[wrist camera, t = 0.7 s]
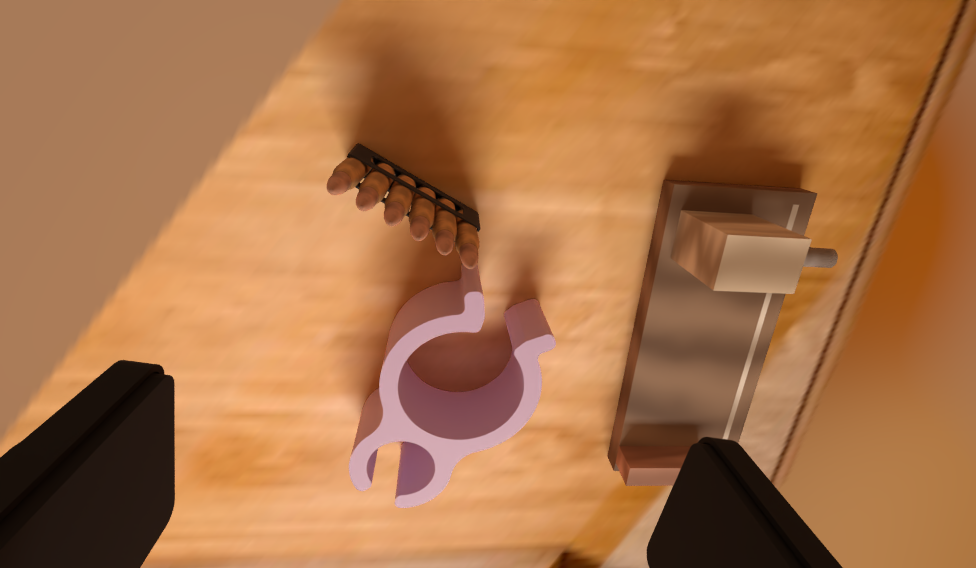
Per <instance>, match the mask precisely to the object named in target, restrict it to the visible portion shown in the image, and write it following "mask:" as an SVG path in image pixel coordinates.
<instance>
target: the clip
mask: <svg viewBox="0 0 976 568" xmlns="http://www.w3.org/2000/svg"><path fill="white" fill-rule="evenodd" d="M461 273H462V276H461V278H460V279H459V280H458V281H450V282H444V283H440V284H436V285H433V286H431V287H428V288H426V289H424V290H422V291H420V292H419V293H417V294H416V295H414V296H413V297H412V298H411V299H409V300H408V301H407V302H406V303H405V304H404V305H403V307H402V308H401V309H400V310H399V312H398V313H397V315H396V317H395V319H394V321H393V323H392V325H391V329H390V333H389V337H388V342H387V346H386V351H385V356H384V360H383V365H382V370H381V374H380V381H379V388H378V389H376V390H375V391H374V392H373V393H372V394H371V395H370V396H369V397H368V398H367V400H366V402H365V404H364V406H363V409H362V413H361V417H360V421H359V426H358V430H357V434H356V438H355V442H354V446H353V450H352V454H351V458H350V462H349V474H350V478H351V480H352V483H353V485H354V486H355V488H356V489H357V490H359V491H365V490H367V489H368V488H370V487H371V484H372V479H373V473H374V467H375V462H376V456H377V451H378V448H379V447H381V446H383V445H385V444H388V443H391V442H397V441H405V442H404V443H403V444H402V446H401V454H400V463H399V471H398V480H397V489H396V497H395V505H396V506H397V507H399V508H408V507H414V506H418V505H421V504H424V503H426V502H428V501H430V500H432V499H433V498H435V497H436V496H437V495H439V494H440V493H441V492H442V491H443V490H444V488H445V487H446V485H447V484H448V482H449V480H450V477H451V474H452V471H453V468H454V467H455V465H456V464H457V463H458V462H459V461H460V460H461V459H462V458H464V457H465V456H467V455H469V454H471V453H474V452H478V451H482V450H486V449H489V448H491V447H494V446H496V445H498V444H500V443H502V442H504V441H506V440H507V439H509V438H510V437H512V436H513V435H514V434H516V433H517V432H518V431H519V430H520V429H521V428H522V427H523V426H524V425H525V424H526V423H527V421H528V420H529V419H530V417H531V416H532V414H533V413H534V411H535V409H536V407H537V404H538V401H539V398H540V394H541V387H542V376H541V370H540V365H539V362H538V356H539V355H540V354H541V353H544V352H547V351H550V350H552V349H553V348H554V347H555V345H556V342H555V339H554V336H553V334H552V332H551V330H550V327H549V325H548V323H547V321H546V318H545V316H544V314H543V311H542V309H541V307H540V305H539V302H538V301H537V300H536V299H530V300H527V301H524V302H521V303H518V304H515V305H513V306H512V307H510V308H509V309H508V310H506V311H505V313H504V318H505V321H506V325H507V329H508V333H509V336H510V340H511V344H512V353H511V357H510V359H509V362H508V363H507V365H506V367H505V368H504V370H503V371H502V372H501V373H500V375H499V376H497V377H496V378H495V379H494V380H493V381H491V382H490V383H488V384H486V385H485V386H482V387H480V388H478V389H474V390H471V391H465V392H449V391H444V390H440V389H437V388H434V387H432V386H430V385H428V384H427V383H425V382H424V381H422V380H421V379H420V378H419V377H418V376H417V375H416V374H415V373H414V372H413V371H412V369H411V368H410V366H409V364H408V362H407V359H408V357H409V356H410V355H411V354H412V353H413V352H414V351H415V350H416V349H417V348H418V347H419V346H421V345H422V344H424V343H425V342H427V341H429V340H431V339H433V338H435V337H438V336H440V335H444V334H448V333H454V332H472V333H475V332H478V331H480V329H481V328H482V325H483V321H484V318H485V311H484V297H483V292H482V287H481V282H480V276H479V271H478V266H477V264H476V266H475V267H474V268H473V269H468V268H466V267H465V266H464V265H463V264H462V265H461Z"/></svg>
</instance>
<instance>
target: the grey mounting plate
mask: <svg viewBox="0 0 976 568" xmlns="http://www.w3.org/2000/svg"><path fill="white" fill-rule="evenodd" d="M816 196H817V193H814V192H811V191H807V190H804V189H798V188H783V187H767V186H752V185H736V184H721V183H706V182H690V181H675V180H664V181H663V186H662V191H661V196H660V201H659V206H658V211H657V216H656V221H655V226H654V231H653V236H652V240H651V245H650V250H649V255H648V260H647V265H646V270H645V275H644V280H643V285H642V290H641V295H640V300H639V305H638V309H637V314H636V319H635V324H634V329H633V334H632V339H631V344H630V349H629V354H628V359H627V364H626V369H625V374H624V379H623V383H622V388H621V393H620V398H619V403H618V408H617V413H616V418H615V423H614V428H613V433H612V438H611V443H610V448H609V452H608V459H609V461H610V463H611V465H612V468H613V470H614V471H620V473H621V476H622V478H623V480H624V482H625V484H626V486H658V485H674V483H675V481H676V479H677V476H678V474H679V472H680V469H681V467H682V465H683V462H684V460H685V458H686V455H687V453H688V451H689V449H690V447H691V446H692V445H693V444H695V443H698V441H699V440H700V439H701V438H703V437H712V438H720V439H727V440H733V441H736V442H737V443H738V442H739V439H740V436H741V433H742V430H743V427H744V423H745V420H746V417H747V414H748V411H749V408H750V404H751V401H752V398H753V395H754V392H755V389H756V386H757V382H758V379H759V376H760V373H761V370H762V367H763V363H764V360H765V357H766V354H767V351H768V348H769V344H770V341H771V338H772V335H773V332H774V329H775V326H776V322H777V319H778V316H779V313H780V310H781V307H782V303H783V300H784V297H785V294H783V293H758V292H733V291H713V290H712V289H711V288H709V287H708V286H707V285H705V284H704V283H703V282H701V281H700V280H699V279H697V278H696V277H695V276H693V275H692V274H691V273H689V272H688V271H687V270H685V269H684V268H683V267H681V266H680V265H679V264H678V263H676V262H675V261H674V260H672V259H671V254H672V249H673V245H674V240H675V236H676V231H677V227H678V222H679V218H680V213H681V210H684V211H701V212H718V213H735V214H752V215H755V216H757V217H759V218H762V219H764V220H767V221H769V222H771V223H774V224H776V225H779V226H781V227H783V228H786V229H788V230H791V231H793V232H795V233H798V234H800V235H803V236H804V234H805V231H806V228H807V225H808V221H809V218H810V215H811V212H812V209H813V206H814V202H815V199H816Z"/></svg>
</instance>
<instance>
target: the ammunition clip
mask: <svg viewBox="0 0 976 568" xmlns="http://www.w3.org/2000/svg"><path fill="white" fill-rule="evenodd" d="M347 157H348V158H347V159H345V160H344V161H343V162H342V163H340V164H339V165H338V166H337V167H336V168H335V169H334V171H333V174H332V176H331V177H330V178H329V180H328V182H327V190H328V192H329V193H330V194H332V195H340V194H342V193H344V192H346V191H347V190H350V189H352V188H354V187H356V188H358V189H359V193H358V195H357V198H356V205H357V207H358V209H359V210H361V211H367V210H370V209H371V208H373V207H374V206H375V205H376V204H377V203H379V202H380V201H381V202H383V203H385V211H384V220H385V222H386V224H387V225H389V226H396V225H398V224H399V223H400V222H401V221H402V219H403V217H404V216H405V215H406V216H408V217H409V222H410V232H411V235H412V237H413V238H414V239H415V240H416V241H421V240H423V239H425V237H426V236H427V235H428V233H429V229H431V230H432V233H433V237H434V239H435V244H436V247H437V250H438V251H439V252H440V253H441V254H442V255H448V254H449V253H450V252H451V251H452V249H453V246H454V242H455V247H456V250H457V251H458V253H459V255H460V259H461V262H462V264H463V265H464V266H465V267H466V268H468V269H473V268H474V267H475V266H476V264H477V262H478V249H479V239H478V234H477V231H478V232H479V230H480V223H479V214H478V213H477V212H476V211H474V210H473V209H471V208H469V207H467V206H466V205H464V204H462V203H461V202H459V201H457V200H455V199H454V198H452V197H450V196H449V195H447V194H445V193H443V192H442V191H440V190H438V189H436V188H435V187H433V186H431V185H430V184H428V183H426V182H424V181H423V180H421V179H419V178H418V177H416V176H414V175H412V174H411V173H409V172H407V171H406V170H404V169H402V168H400V167H399V166H397V165H395V164H394V163H392V162H390V161H388V160H387V159H385V158H383V157H381V156H380V155H378V154H376V153H375V152H373V151H371V150H369V149H368V148H366V147H364V146H363V145H361V144H359V143H358V144H356V146H355V147H354V148H353V149H352V150H351V152H350V153H349V154H348V156H347ZM363 178H365V179H364V181H363V182H362V183H360V181H361V180H362V179H363ZM387 191H388V192H389V194H388V196H387V198H384V196H385V194H386V193H387ZM410 206H411V209H410ZM409 209H410V212H409ZM432 224H433V225H432ZM476 228H477V229H476Z"/></svg>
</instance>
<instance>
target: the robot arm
mask: <svg viewBox="0 0 976 568" xmlns="http://www.w3.org/2000/svg"><path fill="white" fill-rule="evenodd" d="M174 501H175V446H174V379H173V377H172V376H171V375H164V370H163V368H162V366H160V365H157V364H149V363H142V362H134V361H126V360H120V361H118V362H116V363H114V364H113V365H112V366H111V367H110V368H108V369H107V370H106V371H105V372H104V373H102V374H101V375H100V376H99V377H98V378H96V379H95V380H94V381H93V382H92V383H91V384H89V385H88V386H87V387H86V388H85V389H83V390H82V391H81V392H80V393H79V394H77V395H76V396H75V397H74V398H73V399H71V400H70V401H69V402H68V403H67V404H66V405H64V406H63V407H62V408H61V409H60V410H58V411H57V412H56V413H55V414H54V415H52V416H51V417H50V418H49V419H48V420H46V421H45V422H44V423H43V424H42V425H41V426H39V427H38V428H37V429H36V430H35V431H33V432H32V433H31V434H30V435H29V436H27V437H26V438H25V439H24V440H23V441H21V442H20V443H18V444H17V445H15V446H14V447H12V448H11V449H10V450H9V451H8V452H6V453H5V454H4V455H3V456H2V457H0V568H140V567H141V565H142V564H143V562H144V561H145V559H146V557H147V556H148V554H149V553H150V551H151V549H152V548H153V546H154V545H155V543H156V541H157V540H158V538H159V537H160V535H161V533H162V532H163V530H164V529H165V527H166V525H167V524H168V522H169V519H170V517H171V514H172V511H173V507H174ZM647 561H648V565H649V568H842V566H841V565H840V564H839V563H838V562H837V560H836V559H835V558H834V557H833V556H832V555H831V553H830V552H829V551H828V550H827V549H826V547H825V546H824V545H823V544H822V543H821V541H820V540H819V539H818V538H817V537H816V535H815V534H814V533H813V532H812V531H811V529H810V528H809V527H808V526H807V525H806V523H805V522H804V521H803V520H802V519H801V517H800V516H799V515H798V514H797V513H796V511H795V510H794V509H793V508H792V507H791V506H790V504H789V503H788V502H787V501H786V500H785V498H784V497H783V496H782V495H781V494H780V492H779V491H778V490H777V489H776V488H775V486H774V485H773V484H772V483H771V482H770V480H769V479H768V478H767V477H766V476H765V474H764V473H763V472H762V471H761V470H760V468H759V467H758V466H757V465H756V464H755V462H754V461H753V460H752V459H751V458H750V456H749V455H748V454H747V453H746V452H745V451H744V449H743V448H742V447H741V446H740V445H739V444H738V443H737V442H736V441H733V440H727V439H720V438H712V437H703V438H701V439H700V440H699V441H698V443H695V444H693V445H692V446H691V447H690V449H689V451H688V453H687V455H686V458H685V460H684V462H683V465H682V467H681V469H680V472H679V474H678V476H677V479H676V481H675V483H674V485H673V488H672V490H671V492H670V495H669V497H668V499H667V502H666V504H665V506H664V509H663V511H662V513H661V516H660V518H659V520H658V522H657V525H656V527H655V529H654V532H653V534H652V536H651V539H650V541H649V543H648V547H647Z"/></svg>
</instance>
